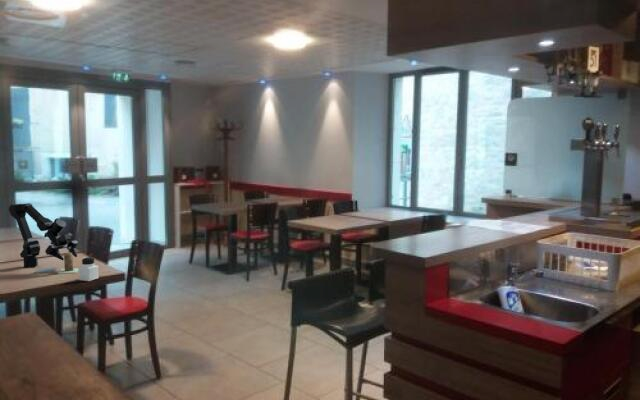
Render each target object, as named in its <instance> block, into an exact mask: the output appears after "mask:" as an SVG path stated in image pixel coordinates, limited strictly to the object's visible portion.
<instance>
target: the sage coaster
mask: <svg viewBox="0 0 640 400" xmlns="http://www.w3.org/2000/svg"><path fill="white" fill-rule="evenodd" d="M78 268H79V267H77V268H76V267H75V268H74V267H73V271H65V268H61V269H60V270H59V271H58V272H57V274H58V275H60V274H61V275H62V274H64V275H65V274H77V273H79V270H78Z"/></svg>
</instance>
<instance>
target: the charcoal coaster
mask: <svg viewBox="0 0 640 400" xmlns="http://www.w3.org/2000/svg"><path fill="white" fill-rule="evenodd" d="M57 269H58V267H40V268H39V267H38V268H37V269H36V270H34V272H33V274H44V273H45V274H46V273H54V272H55V271H56V270H57Z"/></svg>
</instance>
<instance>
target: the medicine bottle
mask: <svg viewBox="0 0 640 400" xmlns="http://www.w3.org/2000/svg"><path fill="white" fill-rule="evenodd" d="M77 268H78V270H79V271H78V281H84V282H91V281H93V280H96V279H99V265H96V264H95V258H94V257H92V256H85V257H83V258H82V259H81V266H79V267H77Z"/></svg>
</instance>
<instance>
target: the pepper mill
mask: <svg viewBox="0 0 640 400" xmlns="http://www.w3.org/2000/svg"><path fill="white" fill-rule="evenodd" d="M63 258H64V260H63V262H64V269H65V271H73V268H74V256H73V255H72V253H70V252H64V256H63Z"/></svg>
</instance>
